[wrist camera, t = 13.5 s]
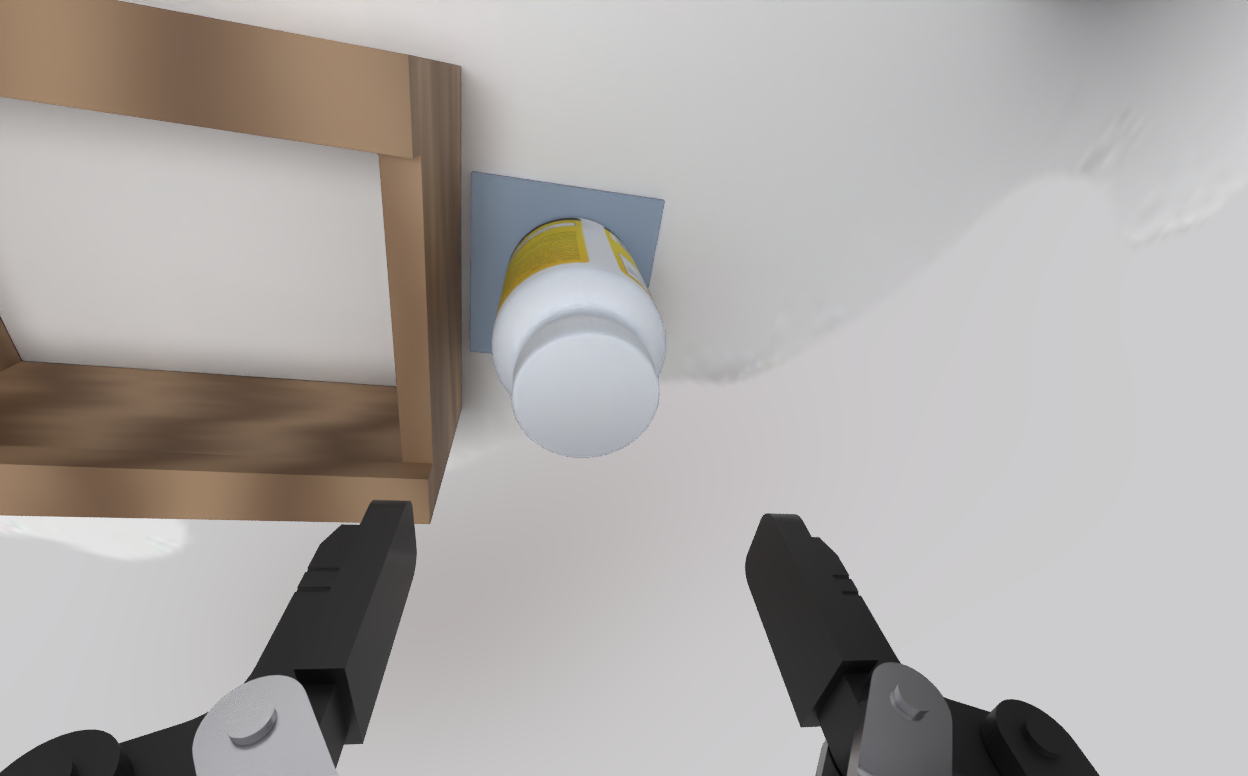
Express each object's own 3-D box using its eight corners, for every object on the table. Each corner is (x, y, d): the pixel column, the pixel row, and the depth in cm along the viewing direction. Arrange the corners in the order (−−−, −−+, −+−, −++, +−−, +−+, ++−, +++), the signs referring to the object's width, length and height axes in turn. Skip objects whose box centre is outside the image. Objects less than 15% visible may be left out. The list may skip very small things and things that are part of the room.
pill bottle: (482, 290, 25) (437, 421, 15) (557, 183, 23) (561, 256, 13) (584, 358, 28) (602, 506, 18) (661, 267, 26) (728, 380, 16)
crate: (460, 66, 21) (408, 54, 13) (461, 408, 29) (429, 524, 21) (-232, -64, 17) (-906, -192, 9) (3, 380, 25) (-239, 510, 17)
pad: (663, 199, 24) (664, 201, 24) (632, 361, 29) (633, 365, 29) (472, 171, 23) (471, 172, 22) (471, 348, 27) (469, 351, 27)
